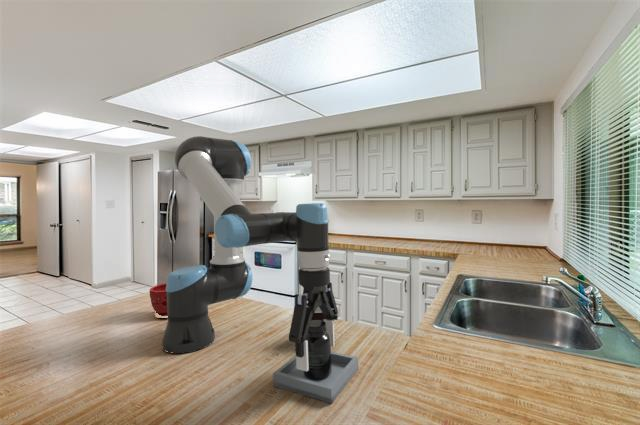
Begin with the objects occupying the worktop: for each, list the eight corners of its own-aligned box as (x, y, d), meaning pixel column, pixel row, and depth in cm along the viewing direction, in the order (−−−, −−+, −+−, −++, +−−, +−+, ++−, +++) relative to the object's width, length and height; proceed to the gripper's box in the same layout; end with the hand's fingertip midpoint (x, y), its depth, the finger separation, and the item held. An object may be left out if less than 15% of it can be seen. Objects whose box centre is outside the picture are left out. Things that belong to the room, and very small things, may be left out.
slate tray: (273, 385, 71) (273, 373, 71) (307, 357, 84) (306, 346, 84) (331, 403, 64) (331, 389, 64) (358, 369, 77) (358, 357, 77)
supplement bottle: (309, 363, 78) (308, 317, 78) (335, 367, 76) (333, 319, 76) (299, 378, 72) (297, 327, 72) (326, 382, 69) (324, 330, 69)
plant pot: (156, 312, 127) (154, 283, 127) (189, 308, 130) (188, 280, 130) (146, 323, 114) (144, 291, 114) (184, 319, 118) (182, 288, 117)
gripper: (299, 280, 61) (303, 387, 61) (348, 260, 82) (351, 339, 83) (269, 277, 64) (273, 378, 65) (324, 258, 86) (326, 334, 86)
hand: (317, 356), depth 74 cm, fingers open, 12 cm apart
